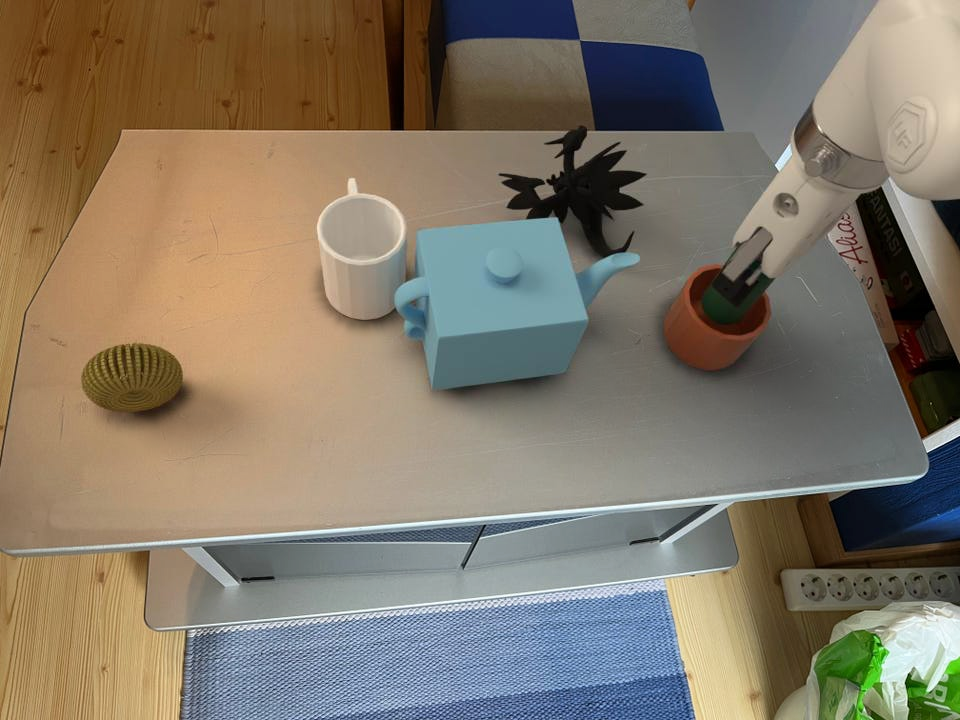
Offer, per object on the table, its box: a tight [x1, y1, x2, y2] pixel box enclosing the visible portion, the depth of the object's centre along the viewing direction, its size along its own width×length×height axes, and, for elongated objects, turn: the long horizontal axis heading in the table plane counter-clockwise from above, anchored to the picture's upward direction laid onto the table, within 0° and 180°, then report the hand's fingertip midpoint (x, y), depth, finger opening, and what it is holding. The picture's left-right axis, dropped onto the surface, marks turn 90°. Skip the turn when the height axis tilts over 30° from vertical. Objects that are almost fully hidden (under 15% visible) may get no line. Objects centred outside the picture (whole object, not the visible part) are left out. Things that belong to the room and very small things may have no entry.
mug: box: [316, 177, 408, 321], centre depth 73 cm, size 8×12×10 cm, turn 13°
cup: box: [662, 263, 772, 371], centre depth 75 cm, size 9×9×6 cm
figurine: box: [497, 124, 648, 259], centre depth 78 cm, size 16×13×11 cm
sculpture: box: [80, 342, 184, 413], centre depth 64 cm, size 8×4×8 cm, turn 107°
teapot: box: [394, 216, 641, 391], centre depth 69 cm, size 22×11×14 cm, turn 101°
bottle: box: [701, 247, 777, 325], centre depth 69 cm, size 4×4×10 cm
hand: (743, 279), depth 69 cm, fingers closed on bottle, 4 cm apart
